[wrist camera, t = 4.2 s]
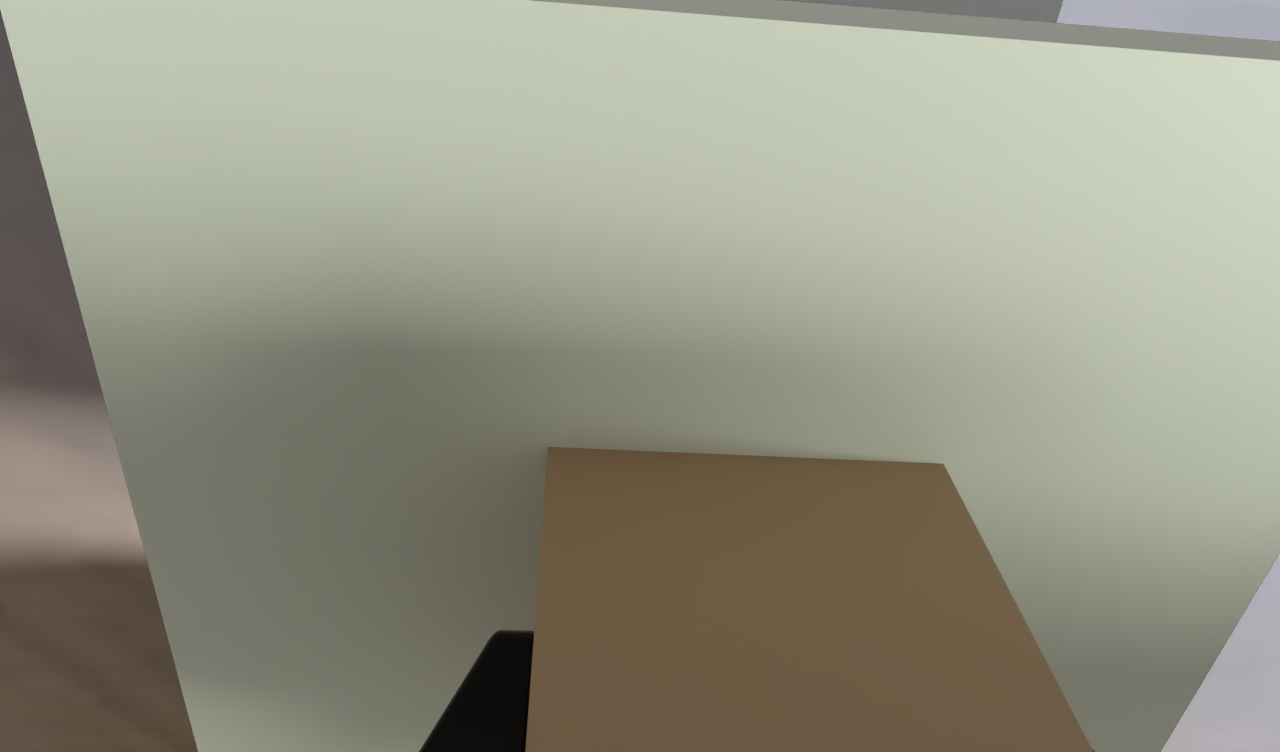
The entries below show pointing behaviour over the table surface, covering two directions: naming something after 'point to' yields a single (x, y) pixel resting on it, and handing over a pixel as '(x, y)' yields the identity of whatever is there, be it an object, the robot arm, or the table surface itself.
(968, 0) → the mat
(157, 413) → the lid
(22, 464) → the table surface
